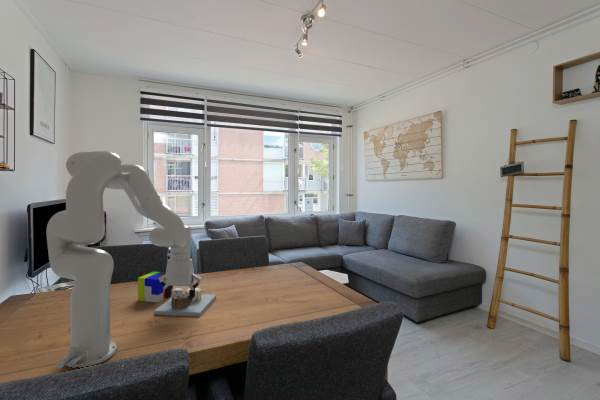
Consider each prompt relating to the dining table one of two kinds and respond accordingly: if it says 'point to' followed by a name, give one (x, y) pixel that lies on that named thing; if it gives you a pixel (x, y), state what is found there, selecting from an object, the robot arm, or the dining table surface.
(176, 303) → the walnut gear
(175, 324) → the dining table surface
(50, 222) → the robot arm
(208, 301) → the gear board
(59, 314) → the dining table surface
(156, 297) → the puzzle toy
